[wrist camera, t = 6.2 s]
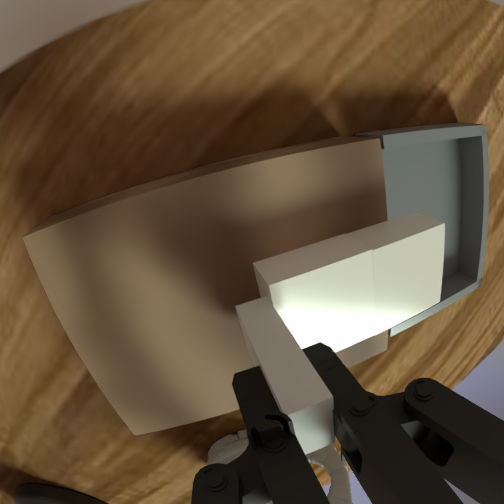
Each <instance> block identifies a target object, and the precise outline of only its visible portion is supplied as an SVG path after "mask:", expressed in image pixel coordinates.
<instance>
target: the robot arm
mask: <svg viewBox="0 0 504 504" xmlns="http://www.w3.org/2000/svg"><path fill="white" fill-rule="evenodd" d="M235 307H236V311H237V314H238V318H239V321H240V324H241V328H242V331H243V335H244V338H245V341H246V345H247V348H248V351H249V354H250V356H251V359H252V361H253V363H254V366H255V367H253V368H250V369H247V370H244V371H240V372H237V373H234V377H233V381H232V386H233V390H234V393H235V396H236V399H237V402H238V405H239V408H240V411H241V414H242V417H243V420H244V423H245V426H246V431H247V438H248V440H249V443H248V446H247V448H246V450H245V451H244V452H243V453H242V454H241V455H240V456H239V457H237V458H236V459H234V460H233V461H231V462H230V463H228V464H222V463H214V464H209V465H207V466H205V467H203V468H202V469H200V470H199V472H198V473H197V474H196V475H195V478H194V481H193V491H192V501H191V504H267V503H268V502H270V501H271V500H272V502H273V504H330V502H329V500H328V498H327V496H326V494H325V493H324V491H323V489H322V487H321V485H320V483H319V481H318V479H317V477H316V475H315V473H314V471H313V469H312V467H311V465H310V463H309V461H308V459H307V457H306V454H308V453H311V452H313V451H316V450H318V449H321V448H323V447H325V446H328V445H330V444H332V443H335V436H336V437H337V439H338V441H339V442H340V444H341V460H342V463H344V462H345V459H346V461H347V463H348V464H349V466H350V468H351V469H352V471H353V473H354V474H355V476H356V477H357V479H358V481H359V482H360V484H361V486H362V487H363V489H364V491H365V492H366V494H367V496H368V497H369V499H370V500H371V502H372V504H463V503H462V501H461V500H460V499H459V497H458V496H457V495H456V494H455V492H454V491H453V490H452V489H451V487H450V486H449V485H448V484H447V482H446V481H445V480H444V479H446V480H447V481H449V482H450V483H451V484H453V485H454V486H455V487H457V488H458V489H460V490H461V491H463V492H464V493H465V494H467V495H468V496H470V497H471V498H473V499H474V500H476V501H477V502H479V503H480V504H504V421H503V420H501V419H499V418H498V417H496V416H494V415H493V414H491V413H489V412H488V411H486V410H484V409H482V408H481V407H479V406H477V405H476V404H474V403H472V402H471V401H469V400H467V399H466V398H464V397H462V396H460V395H459V394H457V393H455V392H454V391H452V390H451V389H449V388H447V387H446V386H444V385H442V384H441V383H439V382H437V381H435V380H433V379H430V378H419V379H415V380H413V381H412V382H410V383H409V384H408V386H407V387H406V388H405V392H401V393H396V394H392V395H386V396H377V395H375V394H373V393H370V392H367V391H365V390H364V389H363V388H362V386H361V385H360V384H359V383H358V381H357V380H356V379H355V378H354V376H353V375H352V374H351V372H350V371H349V370H348V369H347V367H346V366H345V365H344V364H343V362H342V361H341V360H340V358H338V356H337V355H336V353H335V352H334V351H333V350H332V348H331V347H329V346H327V345H325V344H323V343H321V342H319V343H316V344H314V345H311V346H309V347H306V348H304V349H301V347H300V346H299V344H298V343H297V341H296V340H295V338H294V337H293V335H292V334H291V332H290V331H289V329H288V328H287V326H286V324H285V323H284V321H283V320H282V318H281V317H280V315H279V314H278V312H277V311H276V309H275V308H274V306H273V305H272V304H271V302H270V300H269V299H268V297H267V296H265V297H262V298H259V299H256V300H253V301H249V302H246V303H243V304H240V305H237V306H235ZM15 504H105V503H103V502H101V501H99V500H96V499H94V498H91V497H89V496H86V495H83V494H80V493H77V492H73V491H70V490H66V489H62V488H58V487H53V486H48V485H41V484H24V485H21V486H19V487H18V488H17V490H16V495H15Z"/></svg>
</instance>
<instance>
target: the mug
mask: <svg viewBox="0 0 504 504" xmlns="http://www.w3.org/2000/svg"><path fill="white" fill-rule="evenodd" d="M237 433H238V434H229V435H227V436H225V437H223V438H221V439H219V440H218V441H216V442H215V443H214V444H213V445H212V446H211V448H210V450H209V451H208V462H207V465H209V464H214V463H222V464H228V463H230V462H231V461H233V460H234V459H236V458H237V457H239V456H240V455H241V454H242V453H243V452H244V451H245V450H246V448H247V446H248V443H249V440H248V438H247V431H246V430H241V431H238V432H237ZM306 457H307V459H308V461H309V463H310V462H312V463H314V464H318V465H320V466H324V467H325V469H326V471H327V473H328V475H329V477H330V478H331V486H330V489H329V493H328V496H327V498H328V500H329V502H330V504H353V503H352V498H351V488H350V487H351V485H350V479H349V473H348V467H347V464H346V462H344V463H342V460H341V456H340V455H339V454H338V453H337V450H336V448H335V447H334V446H333V445H332V444H330V445H328V446H325V447H323V448H321V449H318V450H316V451H313V452H311V453H308V454H306ZM267 504H273V502H272V500H271V501H270V502H268V503H267Z"/></svg>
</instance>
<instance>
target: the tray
mask: <svg viewBox="0 0 504 504" xmlns="http://www.w3.org/2000/svg"><path fill="white" fill-rule="evenodd" d="M354 136H355V137H367V138H380V144H381V152H382V160H383V169H384V179H385V189H386V202H387V216H388V220H391V219H394V218H397V217H400V216H403V215H406V214H409V213H412V212H418V213H421V214H423V215H426V216H428V217H431V218H433V219H436V220H439V221H441V222H444V223H445V241H444V261H443V275H442V286H441V296H440V302H439V303H437V304H435V305H433V306H432V307H430V308H428V309H426V310H424V311H422V312H420V313H419V314H417V315H415V316H413V317H411V318H409V319H407V320H405V321H403V322H401V323H399V324H397V325H395V326H393V327H391V328H389V329H388V335H389V336H390V337H391V336H393V335H395V334H397V333H399V332H401V331H403V330H405V329H407V328H409V327H411V326H412V325H414V324H416V323H418V322H420V321H422V320H424V319H425V318H427V317H429V316H431V315H433V314H435V313H436V312H438V311H440V310H442V309H443V308H445V307H447V306H448V305H450V304H452V303H454V302H455V301H457V300H459V299H460V298H462V297H464V296H465V295H467V294H468V293H470V292H472V291H473V290H475V289H476V288H478V287H480V286H481V280H482V273H483V266H484V258H485V249H486V238H487V224H488V203H489V165H488V144H487V131H486V125H482V124H471V123H459V122H458V123H444V124H433V125H422V126H413V127H404V128H395V129H387V130H380V131H372V132H365V133H359V134H354Z"/></svg>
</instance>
